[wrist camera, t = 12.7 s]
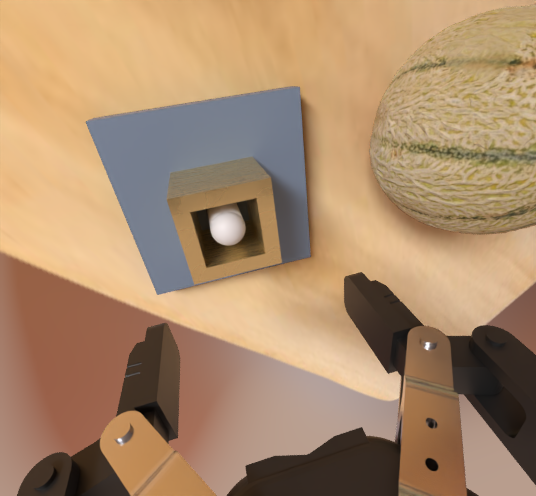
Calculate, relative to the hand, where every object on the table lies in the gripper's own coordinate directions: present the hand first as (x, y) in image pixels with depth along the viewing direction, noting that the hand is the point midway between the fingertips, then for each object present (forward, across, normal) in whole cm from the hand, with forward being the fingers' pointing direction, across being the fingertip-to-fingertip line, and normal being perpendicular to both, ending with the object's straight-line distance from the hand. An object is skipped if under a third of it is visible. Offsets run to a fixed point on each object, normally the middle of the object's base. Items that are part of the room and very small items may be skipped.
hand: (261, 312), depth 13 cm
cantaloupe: (+16, -18, -3) cm, 25 cm away
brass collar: (+14, 0, 0) cm, 14 cm away
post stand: (+16, +1, 0) cm, 16 cm away
